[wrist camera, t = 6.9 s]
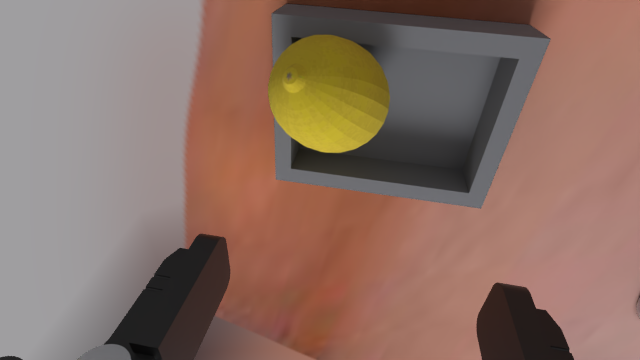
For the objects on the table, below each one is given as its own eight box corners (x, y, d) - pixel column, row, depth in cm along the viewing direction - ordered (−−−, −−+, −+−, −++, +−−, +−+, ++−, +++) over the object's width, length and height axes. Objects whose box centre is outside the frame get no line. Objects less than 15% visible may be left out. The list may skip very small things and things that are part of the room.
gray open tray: (529, 24, 18) (550, 38, 16) (472, 180, 24) (480, 208, 22) (286, 3, 20) (271, 13, 17) (286, 155, 26) (275, 179, 23)
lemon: (327, 64, 22) (246, 8, 15) (414, 68, 20) (365, 3, 13) (312, 150, 23) (226, 135, 16) (396, 164, 20) (339, 154, 13)
